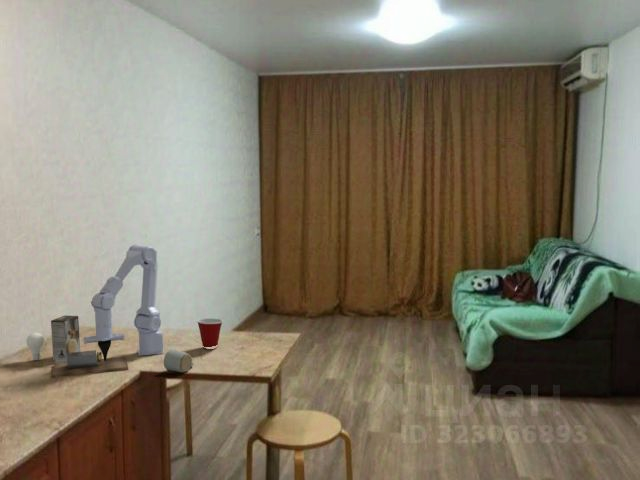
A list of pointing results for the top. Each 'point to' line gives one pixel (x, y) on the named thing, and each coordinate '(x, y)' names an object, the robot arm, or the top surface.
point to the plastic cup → (209, 331)
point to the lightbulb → (35, 344)
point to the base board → (103, 366)
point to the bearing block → (81, 360)
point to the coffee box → (65, 336)
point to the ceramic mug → (177, 361)
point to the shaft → (64, 360)
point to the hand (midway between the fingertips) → (105, 360)
